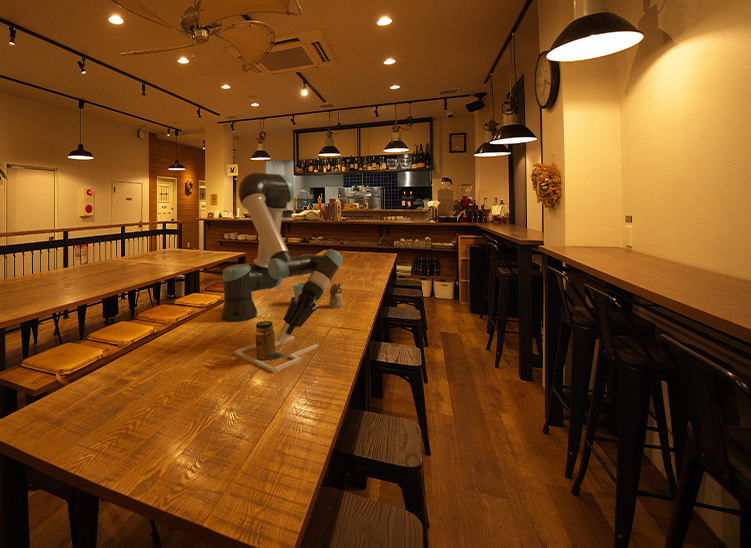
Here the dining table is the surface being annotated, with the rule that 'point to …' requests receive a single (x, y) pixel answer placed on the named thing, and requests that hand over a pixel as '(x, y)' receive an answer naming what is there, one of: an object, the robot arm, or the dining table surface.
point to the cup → (298, 289)
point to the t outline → (274, 369)
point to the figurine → (335, 296)
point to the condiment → (265, 342)
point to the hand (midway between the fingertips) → (280, 341)
